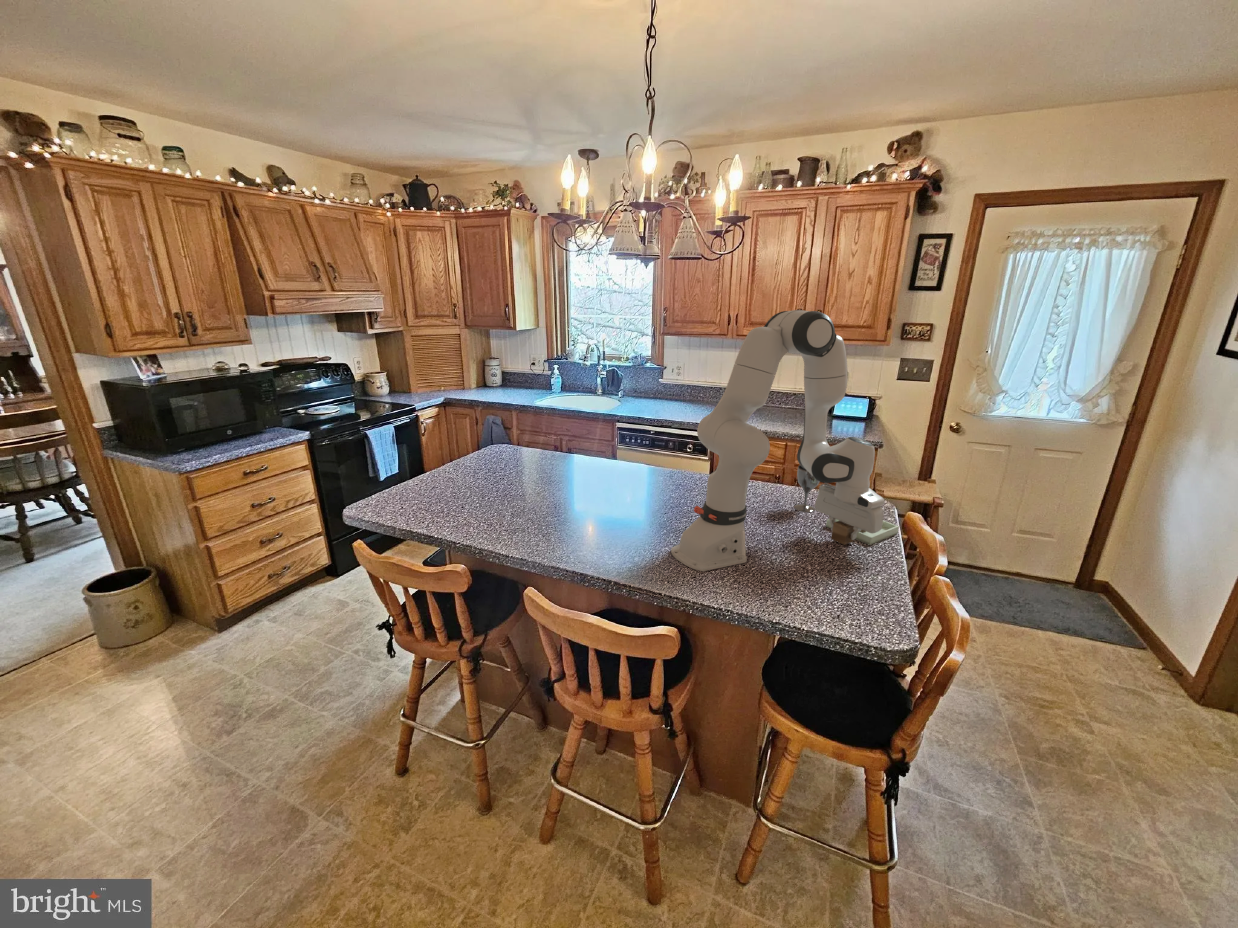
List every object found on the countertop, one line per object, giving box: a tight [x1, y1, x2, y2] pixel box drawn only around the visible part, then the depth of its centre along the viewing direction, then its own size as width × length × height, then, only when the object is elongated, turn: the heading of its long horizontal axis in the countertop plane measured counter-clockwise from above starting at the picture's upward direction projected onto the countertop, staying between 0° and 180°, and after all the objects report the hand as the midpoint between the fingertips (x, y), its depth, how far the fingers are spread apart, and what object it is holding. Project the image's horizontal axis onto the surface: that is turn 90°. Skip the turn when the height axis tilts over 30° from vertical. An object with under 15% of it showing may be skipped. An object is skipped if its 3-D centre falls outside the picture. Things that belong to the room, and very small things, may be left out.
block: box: [830, 521, 855, 546], centre depth 150 cm, size 4×4×6 cm
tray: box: [825, 518, 900, 546], centre depth 159 cm, size 15×15×2 cm
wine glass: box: [793, 464, 821, 513], centre depth 173 cm, size 8×8×15 cm
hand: (843, 534), depth 150 cm, fingers closed on block, 4 cm apart
